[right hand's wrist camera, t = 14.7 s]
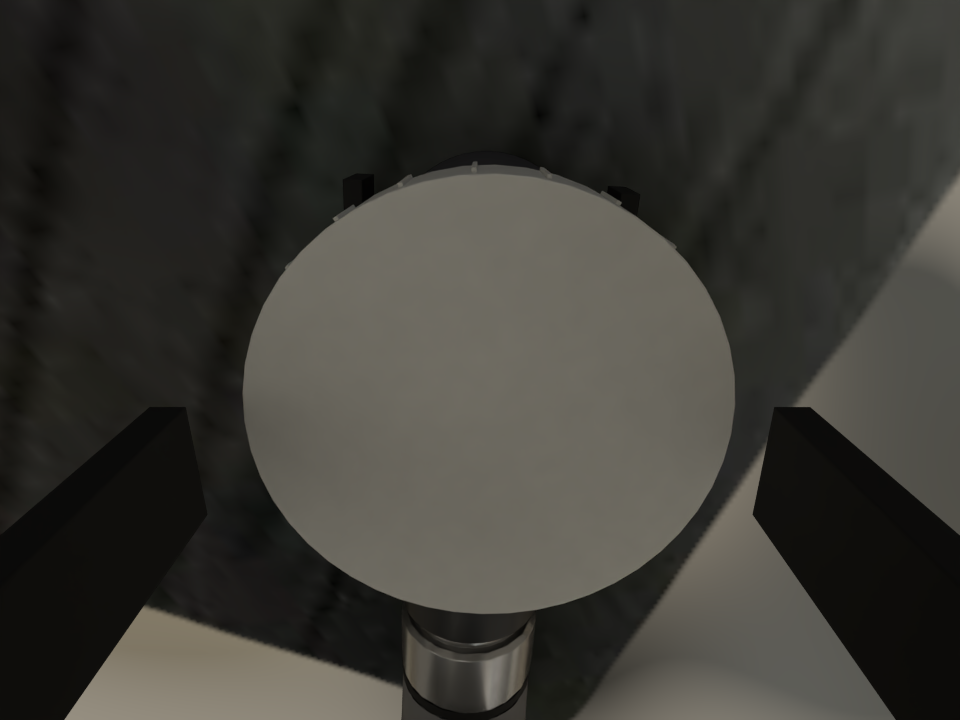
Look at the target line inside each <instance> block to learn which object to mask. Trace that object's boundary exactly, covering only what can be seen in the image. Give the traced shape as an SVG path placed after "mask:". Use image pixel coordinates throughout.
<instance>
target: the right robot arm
mask: <svg viewBox="0 0 960 720" xmlns="http://www.w3.org/2000/svg"><path fill="white" fill-rule="evenodd" d="M206 516H207V510H206V505H205V501H204V496H203V491H202V486H201V481H200V476H199V471H198V466H197V461H196V456H195V451H194V446H193V441H192V436H191V431H190V427H189V422H188V417H187V412H186V407H149V408H148V409H147V410H146V411H145V412H144V413H142V414H141V415H140V416H139V417H138V418H137V419H135V420H134V421H133V422H132V423H131V424H130V425H128V426H127V427H126V428H125V429H124V430H123V431H122V432H120V433H119V434H118V435H117V436H116V437H115V438H113V439H112V440H111V441H110V442H109V443H108V444H106V445H105V446H104V447H103V448H102V449H101V450H99V451H98V452H97V453H96V454H95V455H94V456H92V457H91V458H90V459H89V460H88V461H87V462H85V463H84V464H83V465H82V466H81V467H80V468H78V469H77V470H76V471H75V472H74V473H73V474H71V475H70V476H69V477H68V478H67V479H66V480H64V481H63V482H62V483H61V484H60V485H59V486H57V487H56V488H55V489H54V490H53V491H52V492H50V493H49V494H48V495H47V496H46V497H45V498H43V499H42V500H41V501H40V502H39V503H38V504H36V505H35V506H34V507H33V508H32V509H31V510H29V511H28V512H27V513H26V514H25V515H24V516H22V517H21V518H20V519H19V520H18V521H17V522H15V523H14V524H13V525H12V526H11V527H10V528H8V529H7V530H6V531H5V532H4V533H3V534H1V535H0V720H64V719H65V718H66V716H67V715H68V714H69V712H70V711H71V709H72V708H73V706H74V705H75V704H76V702H77V701H78V699H79V698H80V696H81V695H82V694H83V692H84V691H85V689H86V688H87V686H88V685H89V683H90V682H91V681H92V679H93V678H94V676H95V675H96V673H97V672H98V671H99V669H100V668H101V666H102V665H103V663H104V662H105V661H106V659H107V658H108V656H109V655H110V653H111V652H112V651H113V649H114V648H115V646H116V645H117V643H118V642H119V640H120V639H121V638H122V636H123V635H124V633H125V632H126V630H127V629H128V628H129V626H130V625H131V623H132V622H133V620H134V619H135V618H136V616H137V615H138V613H139V612H140V610H141V609H142V608H143V606H144V605H145V603H146V602H147V600H148V599H149V597H150V596H151V595H152V593H153V592H154V590H155V589H156V587H157V586H158V585H159V583H160V582H161V580H162V579H163V577H164V576H165V575H166V573H167V572H168V570H169V569H170V567H171V566H172V565H173V563H174V562H175V560H176V559H177V557H178V556H179V555H180V553H181V552H182V550H183V549H184V547H185V546H186V544H187V543H188V542H189V540H190V539H191V537H192V536H193V534H194V533H195V532H196V530H197V529H198V527H199V526H200V524H201V523H202V522H203V520H204V519H205V517H206ZM753 516H754V517H755V519H756V520H757V521H758V523H759V524H760V526H761V527H762V529H763V530H764V532H765V533H766V534H767V536H768V537H769V539H770V540H771V542H772V543H773V544H774V546H775V547H776V549H777V550H778V552H779V553H780V555H781V556H782V557H783V559H784V560H785V562H786V563H787V565H788V566H789V567H790V569H791V570H792V572H793V573H794V575H795V576H796V577H797V579H798V580H799V582H800V583H801V585H802V586H803V587H804V589H805V590H806V592H807V593H808V595H809V596H810V597H811V599H812V600H813V602H814V603H815V605H816V606H817V608H818V609H819V610H820V612H821V613H822V615H823V616H824V618H825V619H826V620H827V622H828V623H829V625H830V626H831V628H832V629H833V630H834V632H835V633H836V635H837V636H838V638H839V639H840V640H841V642H842V643H843V645H844V646H845V648H846V649H847V650H848V652H849V653H850V655H851V656H852V658H853V659H854V660H855V662H856V663H857V665H858V666H859V668H860V669H861V671H862V672H863V673H864V675H865V676H866V678H867V679H868V681H869V682H870V683H871V685H872V686H873V688H874V689H875V691H876V692H877V694H878V695H879V696H880V698H881V699H882V701H883V702H884V704H885V705H886V706H887V708H888V709H889V711H890V712H891V714H892V715H893V716H894V718H895V719H896V720H960V535H959V534H957V533H956V532H955V531H954V530H953V529H952V528H950V527H949V526H948V525H947V524H946V523H945V522H943V521H942V520H941V519H940V518H939V517H938V516H936V515H935V514H934V513H933V512H932V511H931V510H929V509H928V508H927V507H926V506H925V505H924V504H922V503H921V502H920V501H919V500H918V499H917V498H915V497H914V496H913V495H912V494H911V493H910V492H908V491H907V490H906V489H905V488H904V487H903V486H901V485H900V484H899V483H898V482H897V481H896V480H894V479H893V478H892V477H891V476H890V475H889V474H887V473H886V472H885V471H884V470H883V469H882V468H880V467H879V466H878V465H877V464H876V463H875V462H873V461H872V460H871V459H870V458H869V457H868V456H866V455H865V454H864V453H863V452H862V451H861V450H859V449H858V448H857V447H856V446H855V445H854V444H852V443H851V442H850V441H849V440H848V439H847V438H845V437H844V436H843V435H842V434H841V433H840V432H838V431H837V430H836V429H835V428H834V427H833V426H832V425H830V424H829V423H828V422H827V421H826V420H824V419H823V418H822V417H821V416H820V415H819V414H817V413H816V412H815V411H814V410H813V409H812V408H810V407H774V412H773V417H772V422H771V427H770V431H769V436H768V441H767V446H766V451H765V456H764V461H763V466H762V471H761V476H760V481H759V486H758V491H757V496H756V500H755V506H754V510H753Z"/></svg>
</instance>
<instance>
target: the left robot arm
mask: <svg viewBox="0 0 960 720" xmlns="http://www.w3.org/2000/svg"><path fill="white" fill-rule="evenodd" d="M607 194H609V195H610V196H612V197H614V198H615V199H617V200H619V201H620V202H622V203H621V205H620V206H621V207H623V208H624V209H626V210H627V211H629V212H630V213H632V214H633V215H635V216H636V217H637V212H638V205H639V198H640V194H638V193H636V192H634V191H632V190H630V189H628V188H626V187H616V186H608V191H607ZM343 196H344V210H346V209H347V208H349V207H350V206H352V205H354V206H355V207H357V206H359V205H360V204H362V203H363V202H365V201H366V200H368V199H369V198H371V197H372V196H374V174H354V175H352V176H350V177H348V178H345V179H343ZM535 622H536V610H531V611H523V612H515V613H498V614H476V613H463V612H452V611H447V610H441V609H435V608H430V607H425V606H422V605H418V604H415V603H411V602H408V601H404V600H403V604H402V651H403V659H402V662H403V697H402V719H401V720H525V714H526V699H527V684H528V677H529V670H530V664H531V658H532V649H533V640H534V631H535Z"/></svg>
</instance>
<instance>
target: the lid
mask: <svg viewBox="0 0 960 720" xmlns="http://www.w3.org/2000/svg"><path fill="white" fill-rule="evenodd" d="M621 203H622V202H620V201H619V200H617V199H615V198H614V197H612V196H610V195H609V194H607V193H606V192H604V191H602V192H601V193H600V194H599V193H597V192H596V191H594V190H592V189H590V188H589V187H587V186H584V185H582V184H579V183H577V182H574V181H572V180H569V179H566V178H564V177H561V176H559V175H556V174H551V173H550V172H549V171H548V170H546V169H545V168H543V167H540V170H534V169H530V168H525V167H515V166H504V165H478V163H477V161H476V162H473V163H472V166H460V167H454V168H449V169H443V170H438V171H432V172H429V173H426V174H423V175H420V176H417V177H414V178H413V177H412V175H411V174H410V175H408V176H406V177H405V178H404V179H402V180H401V181H400V182H398V183H397V184H396V185H394V186H392V187H390V188H388V189H386V190H383V191H381V192H379V193H377V194H375V195H374V196H372V197H371V198H369V199H368V200H366V201H365V202H363V203H362V204H360V205H359V206H357V207H355V206H354V205H352V206H350V207H349V208H347V209H346V210H344V211H343V212H341V213H340V214H338V215H337V216H335V217H334V218H333V220H334V221H335V222H334V223H333V224H332V225H330V226H329V227H327V228H326V229H325V230H324V231H323V232H321V233H320V234H319V235H318V236H317V237H316V238H315V239H314V240H313V241H312V242H311V243H309V244H308V245H307V246H306V247H305V248H304V249H303V250H302V251H301V252H300V253H299V254H298V255H297V257H296V258H295V259H294V260H293V261H291V262H290V263H289V264H287V266H286V267H285V269H286V270H285V271H284V273H283V274H282V275H281V276H280V278H279V279H278V281H277V283H276V285H275V286H274V288H273V290H272V291H271V293H270V295H269V296H268V298H267V300H266V301H265V303H264V305H263V307H262V310H261V312H260V315H259V317H258V320H257V322H256V325H255V327H254V330H253V332H252V335H251V340H250V344H249V348H248V352H247V357H246V361H245V369H244V381H243V406H244V421H245V426H246V431H247V435H248V440H249V445H250V449H251V452H252V455H253V458H254V460H255V463H256V466H257V469H258V471H259V474H260V476H261V478H262V480H263V482H264V484H265V486H266V488H267V490H268V492H269V493H270V495H271V497H272V499H273V501H274V502H275V504H276V505H277V507H278V508H279V509H280V511H281V512H282V514H283V515H284V516H285V518H286V519H287V521H288V522H289V523H290V524H291V526H292V527H293V528H294V529H295V530H296V531H297V532H298V533H299V534H300V535H301V536H302V538H303V539H304V540H305V541H306V542H307V543H308V544H309V545H310V546H311V547H313V548H314V549H315V550H316V551H317V552H318V553H320V554H321V555H322V556H323V557H324V558H325V559H327V560H328V561H329V562H330V563H332V564H333V565H335V566H336V567H338V568H339V569H341V570H342V571H344V572H345V573H347V574H348V575H350V576H351V577H353V578H355V579H357V580H359V581H360V582H362V583H364V584H366V585H368V586H370V587H372V588H374V589H376V590H378V591H381V592H383V593H386V594H388V595H391V596H393V597H396V598H398V599H401V600H404V601H408V602H411V603H415V604H418V605H422V606H425V607H430V608H435V609H441V610H447V611H452V612H463V613H476V614H498V613H515V612H523V611H531V610H538V609H542V608H546V607H551V606H555V605H559V604H564V603H567V602H570V601H572V600H575V599H578V598H581V597H584V596H587V595H590V594H592V593H594V592H596V591H598V590H601V589H603V588H605V587H607V586H609V585H611V584H614V583H615V582H617V581H619V580H620V579H622V578H624V577H625V576H627V575H629V574H630V573H632V572H634V571H635V570H637V569H639V568H640V567H641V566H642V565H644V564H645V563H646V562H648V561H649V560H650V559H652V558H653V557H654V556H655V555H657V554H658V553H659V552H661V551H662V550H663V549H664V548H665V547H666V546H667V545H668V544H669V543H670V542H671V541H672V540H673V539H674V538H675V537H676V536H677V535H678V534H679V533H680V532H681V531H682V529H683V528H684V527H685V526H686V524H687V523H688V522H689V521H690V519H691V518H692V517H693V516H694V514H695V513H696V512H697V511H698V509H699V507H700V506H701V504H702V502H703V501H704V499H705V498H706V496H707V494H708V493H709V491H710V489H711V488H712V486H713V484H714V481H715V479H716V477H717V474H718V472H719V470H720V468H721V465H722V463H723V461H724V457H725V454H726V450H727V447H728V443H729V439H730V436H731V431H732V423H733V416H734V408H735V375H734V369H733V363H732V357H731V351H730V345H729V342H728V339H727V336H726V333H725V330H724V327H723V324H722V321H721V318H720V315H719V313H718V311H717V310H716V308H715V306H714V304H713V301H712V299H711V298H710V296H709V294H708V292H707V290H706V288H705V287H704V285H703V284H702V282H701V281H700V279H699V278H698V277H697V275H696V274H695V272H694V271H693V270H692V268H691V267H690V265H689V264H688V263H687V261H686V260H685V259H684V258H683V257H682V256H681V255H680V254H679V253H678V252H677V251H676V250H675V249H676V248H677V247H676V246H675V245H674V244H673V243H672V242H670V241H669V240H667V239H666V238H664V237H663V236H661V235H660V234H658V233H657V232H656V231H654V230H653V229H652V228H651V227H649V226H648V225H647V224H645V223H644V222H643V221H641V220H640V219H639V218H638V217H636V216H635V215H633V214H632V213H630V212H629V211H627V210H626V209H624V208H623V207H621V206H620V205H621Z"/></svg>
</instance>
